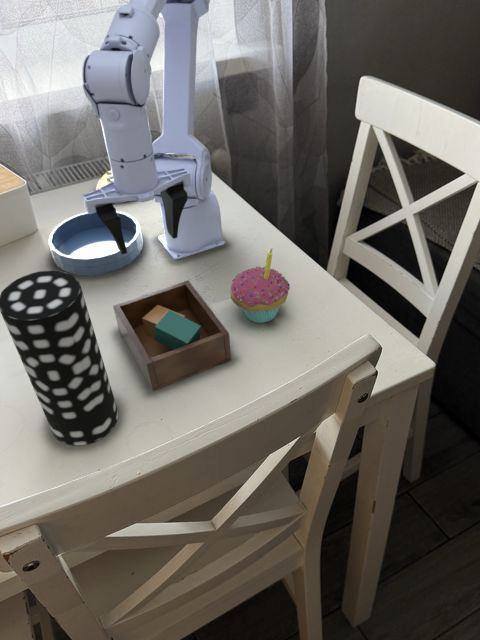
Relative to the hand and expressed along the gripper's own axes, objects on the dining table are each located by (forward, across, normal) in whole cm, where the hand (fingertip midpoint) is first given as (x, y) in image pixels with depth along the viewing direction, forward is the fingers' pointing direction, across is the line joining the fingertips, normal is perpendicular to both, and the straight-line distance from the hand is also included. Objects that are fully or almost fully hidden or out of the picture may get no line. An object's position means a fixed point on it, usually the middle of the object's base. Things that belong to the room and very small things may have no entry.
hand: (148, 242), depth 85 cm
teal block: (+7, -2, -13) cm, 15 cm away
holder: (+10, -2, -11) cm, 15 cm away
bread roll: (+11, +7, +36) cm, 38 cm away
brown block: (+10, -2, -8) cm, 13 cm away
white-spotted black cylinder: (+11, -17, -18) cm, 27 cm away
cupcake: (+11, +12, -11) cm, 19 cm away
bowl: (+10, -4, +18) cm, 21 cm away
